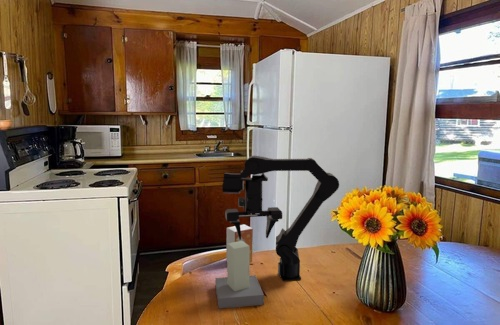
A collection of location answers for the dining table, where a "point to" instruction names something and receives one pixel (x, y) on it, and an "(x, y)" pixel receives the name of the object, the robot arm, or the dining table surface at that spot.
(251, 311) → the dining table surface
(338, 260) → the dining table surface
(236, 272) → the sage block
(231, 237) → the small box
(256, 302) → the plinth
